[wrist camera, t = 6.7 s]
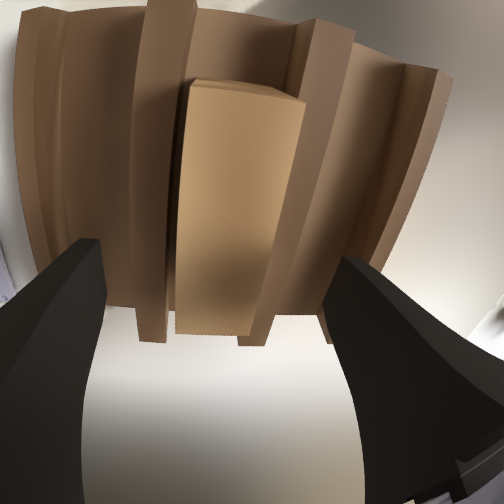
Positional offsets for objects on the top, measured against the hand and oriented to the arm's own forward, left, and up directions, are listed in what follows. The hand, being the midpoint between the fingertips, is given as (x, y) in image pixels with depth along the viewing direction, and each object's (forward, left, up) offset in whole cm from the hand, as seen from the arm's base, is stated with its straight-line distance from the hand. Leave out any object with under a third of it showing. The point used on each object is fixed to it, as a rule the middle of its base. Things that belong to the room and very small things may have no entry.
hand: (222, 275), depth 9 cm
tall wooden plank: (0, +1, -6) cm, 6 cm away
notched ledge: (0, 0, -7) cm, 7 cm away
